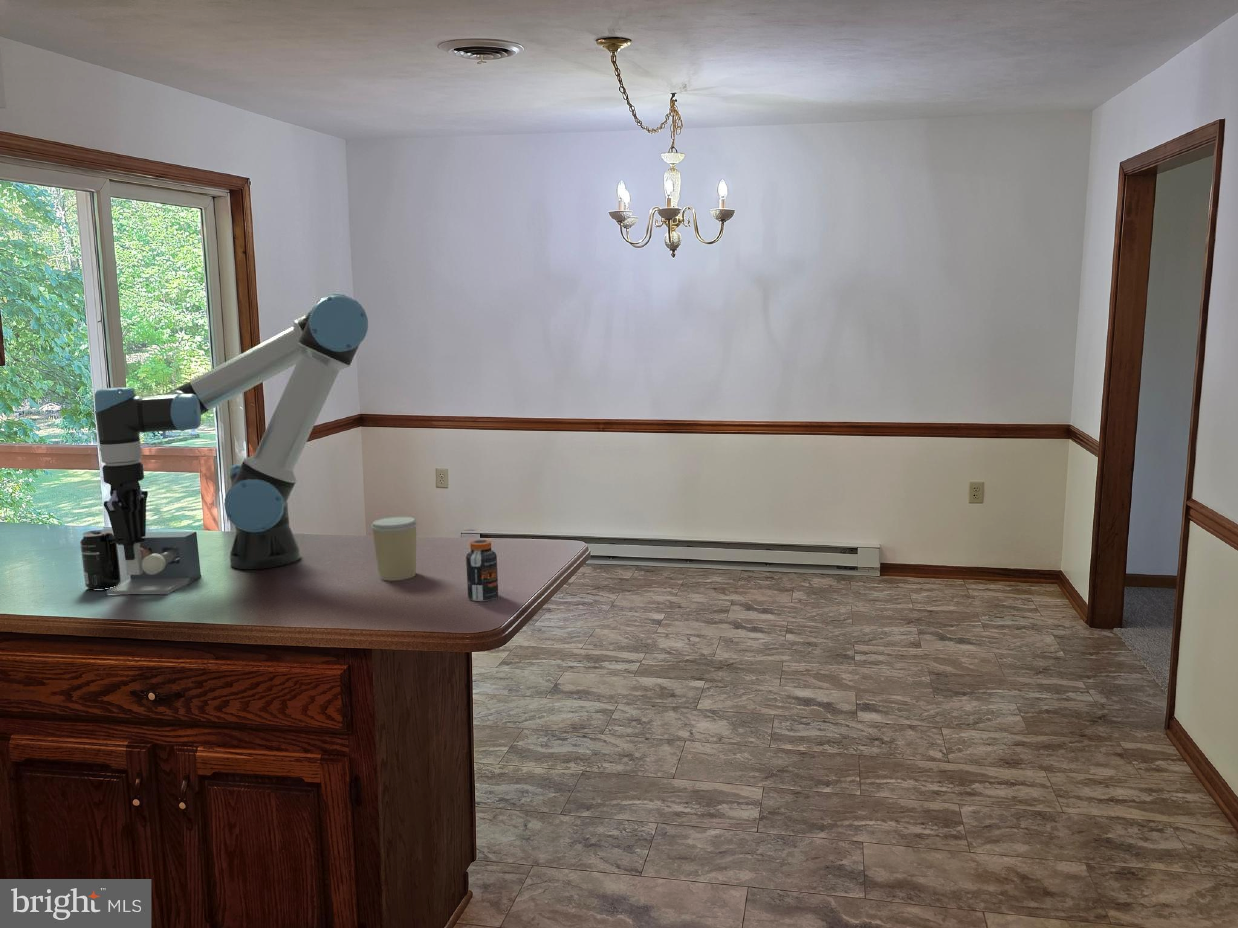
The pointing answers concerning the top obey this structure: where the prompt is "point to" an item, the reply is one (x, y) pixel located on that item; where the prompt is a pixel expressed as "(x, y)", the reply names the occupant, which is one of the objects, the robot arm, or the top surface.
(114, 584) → the beverage can
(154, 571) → the knob ivory
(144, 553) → the tan flanged peg
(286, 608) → the top surface
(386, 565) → the coffee cup
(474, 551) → the pill bottle
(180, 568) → the mount
